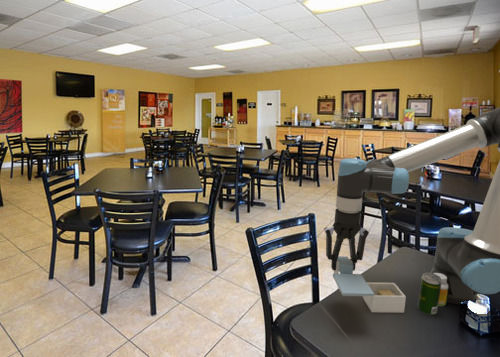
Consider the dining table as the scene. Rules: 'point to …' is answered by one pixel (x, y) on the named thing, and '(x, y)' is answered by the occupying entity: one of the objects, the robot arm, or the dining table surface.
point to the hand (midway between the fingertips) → (342, 278)
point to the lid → (350, 280)
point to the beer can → (429, 293)
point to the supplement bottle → (443, 290)
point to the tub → (385, 298)
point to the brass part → (385, 292)
